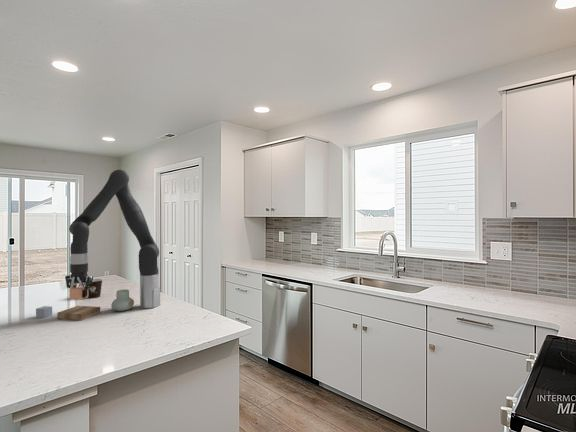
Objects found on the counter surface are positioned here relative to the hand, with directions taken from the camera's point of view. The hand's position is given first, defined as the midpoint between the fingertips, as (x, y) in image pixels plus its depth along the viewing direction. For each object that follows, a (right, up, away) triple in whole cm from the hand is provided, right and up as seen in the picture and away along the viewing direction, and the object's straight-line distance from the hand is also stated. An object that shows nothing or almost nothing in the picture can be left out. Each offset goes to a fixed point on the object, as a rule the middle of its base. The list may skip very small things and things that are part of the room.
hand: (79, 296), depth 161 cm
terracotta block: (0, -1, 0) cm, 1 cm away
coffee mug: (-16, -9, +36) cm, 41 cm away
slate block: (-16, -9, -1) cm, 19 cm away
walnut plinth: (0, -9, 0) cm, 9 cm away
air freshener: (+16, -9, +10) cm, 21 cm away
